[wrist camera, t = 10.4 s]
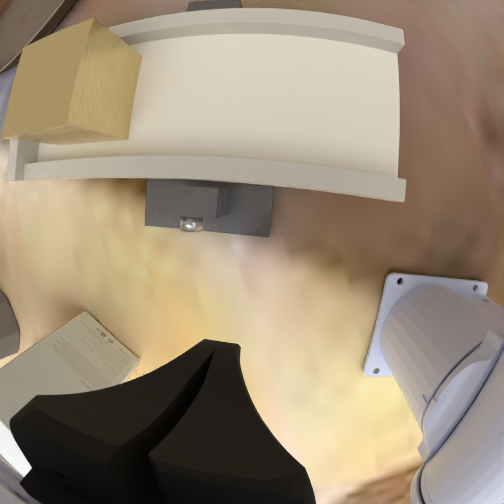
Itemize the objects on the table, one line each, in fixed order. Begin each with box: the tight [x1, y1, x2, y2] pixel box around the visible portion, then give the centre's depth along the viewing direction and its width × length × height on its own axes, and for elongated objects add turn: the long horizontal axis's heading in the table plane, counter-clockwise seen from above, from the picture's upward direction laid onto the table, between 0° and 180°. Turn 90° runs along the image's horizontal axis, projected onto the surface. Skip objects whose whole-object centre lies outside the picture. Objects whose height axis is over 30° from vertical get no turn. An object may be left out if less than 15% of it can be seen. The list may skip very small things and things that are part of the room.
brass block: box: [2, 18, 142, 146], centre depth 11 cm, size 5×5×5 cm
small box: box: [0, 311, 140, 477], centre depth 16 cm, size 8×6×13 cm
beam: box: [7, 8, 406, 202], centre depth 12 cm, size 22×9×3 cm, turn 85°
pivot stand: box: [145, 0, 274, 237], centre depth 15 cm, size 8×15×4 cm, turn 175°
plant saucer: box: [0, 0, 76, 74], centre depth 14 cm, size 21×21×3 cm
